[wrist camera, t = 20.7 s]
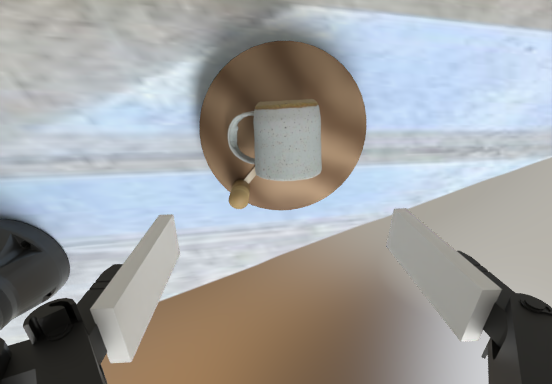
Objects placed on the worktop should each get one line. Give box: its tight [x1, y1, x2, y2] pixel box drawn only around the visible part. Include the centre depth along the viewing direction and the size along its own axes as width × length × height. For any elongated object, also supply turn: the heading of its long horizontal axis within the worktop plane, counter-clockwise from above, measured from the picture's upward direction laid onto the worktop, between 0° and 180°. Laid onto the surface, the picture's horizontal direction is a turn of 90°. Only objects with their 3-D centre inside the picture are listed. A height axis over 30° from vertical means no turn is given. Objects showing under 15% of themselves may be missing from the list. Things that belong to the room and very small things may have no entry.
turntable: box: [200, 41, 366, 210], centre depth 31 cm, size 21×21×6 cm
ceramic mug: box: [228, 99, 322, 181], centre depth 28 cm, size 11×8×8 cm
